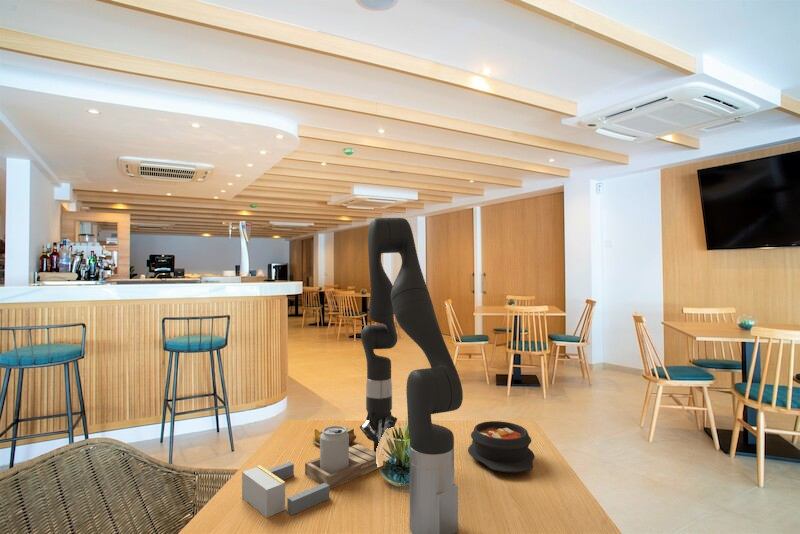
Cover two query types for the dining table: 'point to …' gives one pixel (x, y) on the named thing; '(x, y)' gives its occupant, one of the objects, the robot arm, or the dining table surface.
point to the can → (334, 449)
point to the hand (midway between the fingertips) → (379, 453)
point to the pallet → (359, 465)
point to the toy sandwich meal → (318, 434)
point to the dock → (278, 490)
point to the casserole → (502, 446)
